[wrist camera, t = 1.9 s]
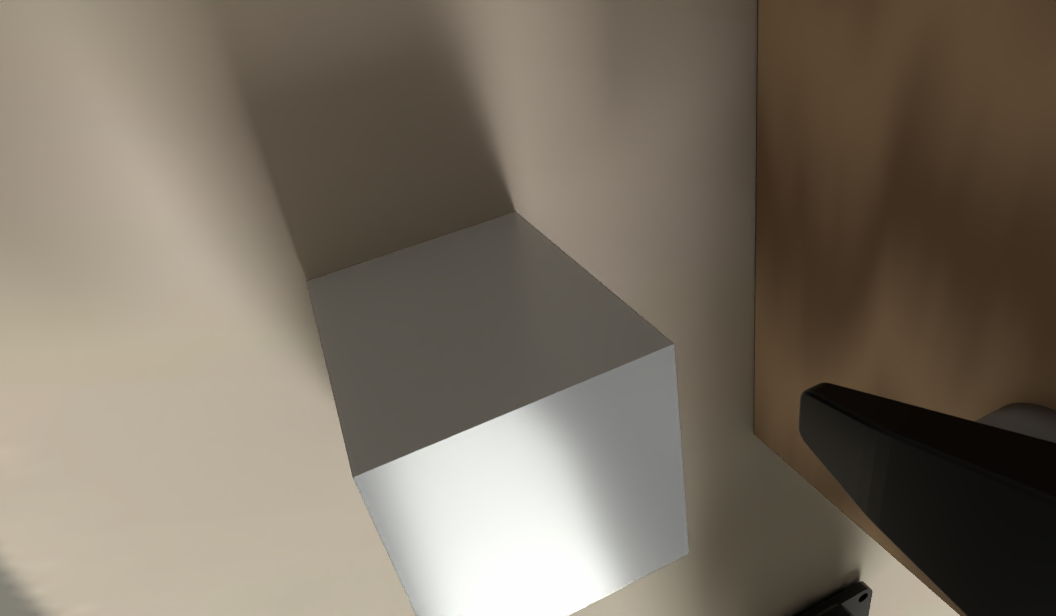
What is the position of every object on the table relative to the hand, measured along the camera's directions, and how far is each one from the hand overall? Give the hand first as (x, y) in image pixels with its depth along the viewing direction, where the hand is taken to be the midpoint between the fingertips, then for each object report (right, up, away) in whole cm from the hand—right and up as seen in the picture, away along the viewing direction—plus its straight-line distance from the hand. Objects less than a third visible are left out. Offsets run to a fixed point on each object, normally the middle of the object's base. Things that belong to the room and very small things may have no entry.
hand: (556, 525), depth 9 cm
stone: (-2, +3, +5) cm, 6 cm away
